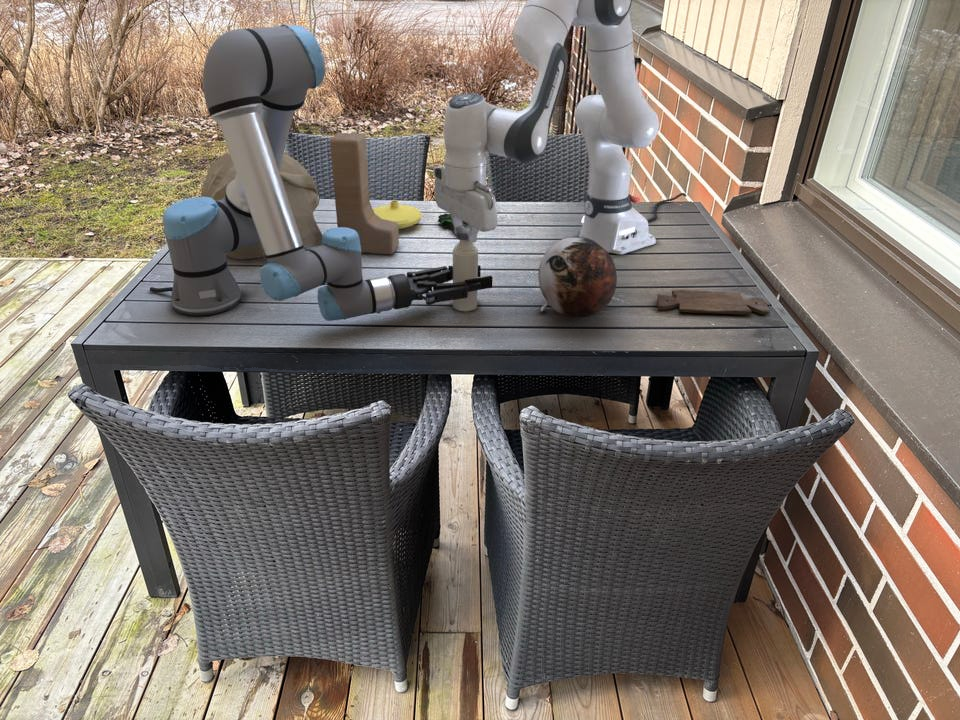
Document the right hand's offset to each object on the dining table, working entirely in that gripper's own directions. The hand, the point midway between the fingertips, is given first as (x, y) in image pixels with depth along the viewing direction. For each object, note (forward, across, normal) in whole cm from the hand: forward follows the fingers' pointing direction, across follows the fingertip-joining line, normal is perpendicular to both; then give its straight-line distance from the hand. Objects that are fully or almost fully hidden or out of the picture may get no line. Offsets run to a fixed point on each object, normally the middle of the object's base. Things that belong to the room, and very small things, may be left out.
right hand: (465, 238), depth 158 cm
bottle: (+17, 0, 0) cm, 17 cm away
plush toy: (+17, -16, -20) cm, 30 cm away
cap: (-2, 0, 0) cm, 2 cm away
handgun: (+17, +44, -28) cm, 55 cm away
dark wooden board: (+17, -30, -49) cm, 60 cm away
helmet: (+17, +59, +27) cm, 67 cm away
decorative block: (+17, +43, +4) cm, 46 cm away
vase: (+17, +56, -11) cm, 59 cm away
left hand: (+10, -1, -5) cm, 11 cm away
